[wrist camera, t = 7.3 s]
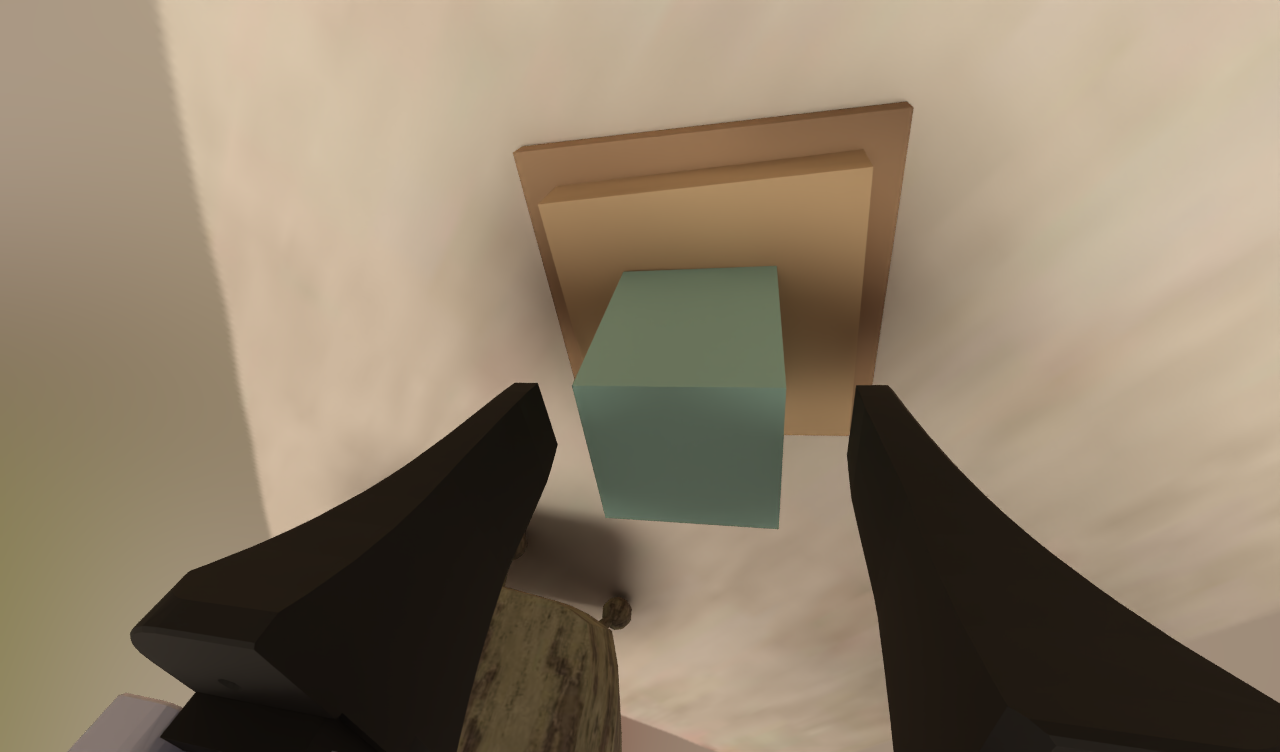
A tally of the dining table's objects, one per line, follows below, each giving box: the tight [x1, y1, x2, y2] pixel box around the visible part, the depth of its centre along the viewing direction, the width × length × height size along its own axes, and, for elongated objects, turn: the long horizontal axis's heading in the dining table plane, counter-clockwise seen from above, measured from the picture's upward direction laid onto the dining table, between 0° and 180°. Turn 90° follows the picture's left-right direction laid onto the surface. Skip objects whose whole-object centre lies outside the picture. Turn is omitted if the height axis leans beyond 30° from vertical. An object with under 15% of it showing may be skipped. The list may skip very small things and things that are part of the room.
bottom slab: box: [513, 102, 913, 432], centre depth 16 cm, size 10×10×2 cm
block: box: [572, 266, 786, 529], centre depth 13 cm, size 4×4×5 cm
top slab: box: [538, 149, 873, 436], centre depth 15 cm, size 8×8×2 cm
